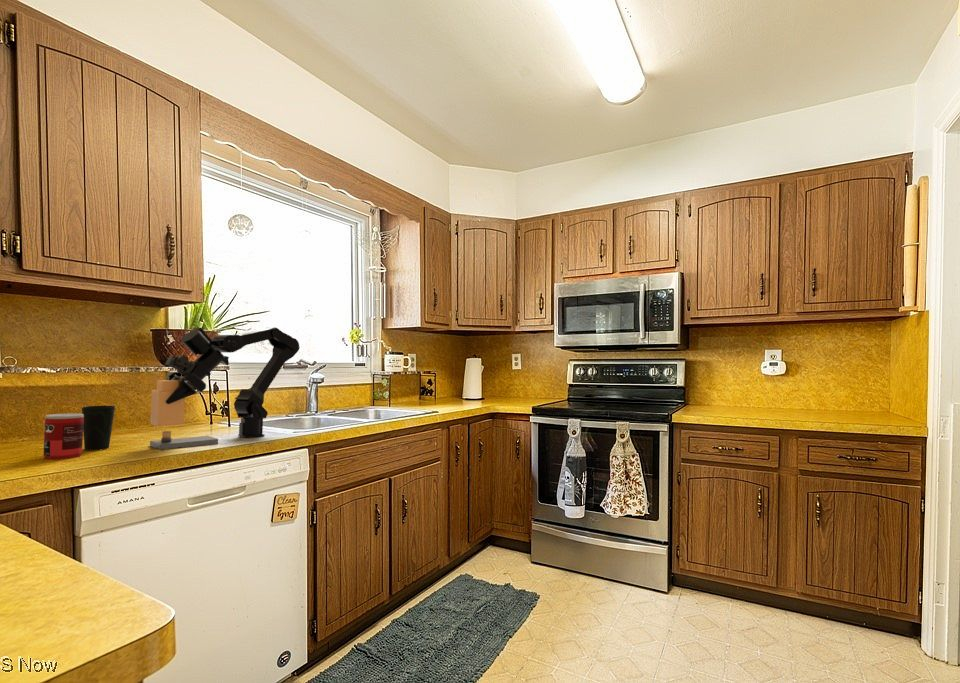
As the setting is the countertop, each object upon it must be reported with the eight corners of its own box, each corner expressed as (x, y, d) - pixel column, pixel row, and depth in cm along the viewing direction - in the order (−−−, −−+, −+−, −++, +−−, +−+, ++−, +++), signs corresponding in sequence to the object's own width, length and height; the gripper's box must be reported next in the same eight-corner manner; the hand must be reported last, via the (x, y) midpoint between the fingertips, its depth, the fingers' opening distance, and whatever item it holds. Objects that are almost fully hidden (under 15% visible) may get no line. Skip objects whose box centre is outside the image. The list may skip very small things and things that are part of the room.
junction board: (207, 440, 162) (207, 426, 163) (218, 443, 156) (218, 429, 157) (149, 445, 151) (150, 430, 151) (159, 449, 145) (160, 434, 145)
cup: (75, 451, 140) (77, 408, 140) (85, 447, 147) (87, 405, 147) (108, 450, 143) (110, 407, 143) (116, 445, 150) (118, 405, 150)
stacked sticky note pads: (176, 422, 155) (177, 379, 155) (183, 424, 150) (185, 380, 151) (150, 424, 150) (152, 380, 150) (157, 426, 145) (159, 381, 146)
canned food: (49, 455, 135) (51, 413, 135) (86, 453, 138) (88, 412, 138) (37, 460, 128) (40, 416, 128) (76, 458, 131) (78, 416, 131)
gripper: (174, 346, 160) (132, 382, 152) (195, 346, 148) (150, 385, 139) (200, 371, 166) (160, 406, 157) (223, 372, 153) (181, 411, 145)
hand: (162, 402), depth 149 cm, fingers closed on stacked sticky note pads, 7 cm apart
